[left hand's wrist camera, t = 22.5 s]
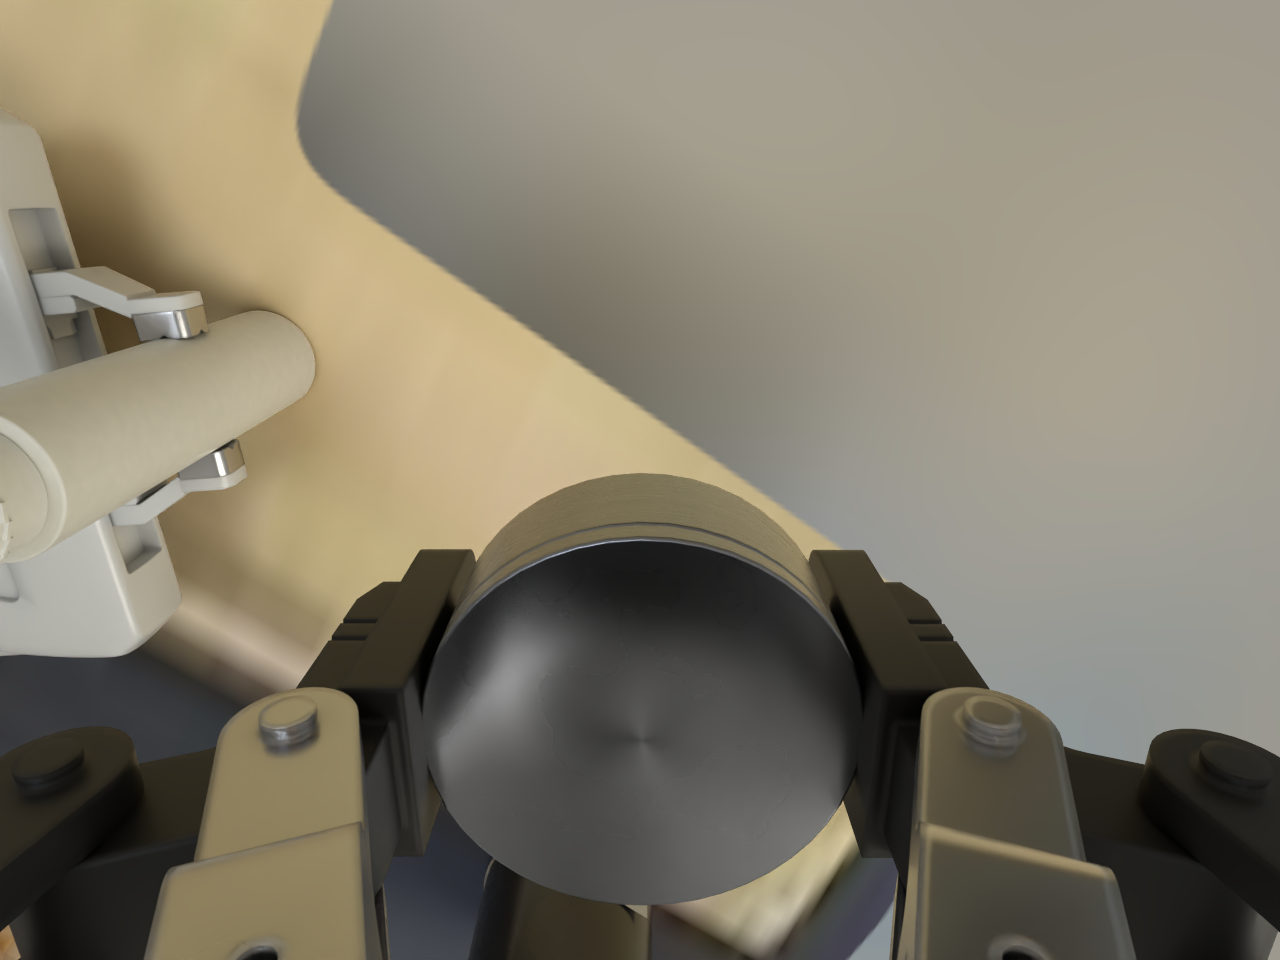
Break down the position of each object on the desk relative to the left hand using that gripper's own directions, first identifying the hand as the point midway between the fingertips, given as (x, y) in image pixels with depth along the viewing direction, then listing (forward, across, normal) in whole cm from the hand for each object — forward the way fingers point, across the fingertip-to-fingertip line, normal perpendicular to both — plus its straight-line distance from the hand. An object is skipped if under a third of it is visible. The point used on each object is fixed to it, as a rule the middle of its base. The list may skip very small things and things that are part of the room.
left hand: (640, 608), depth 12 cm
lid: (-3, 0, 0) cm, 3 cm away
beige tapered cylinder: (+24, +16, +1) cm, 29 cm away
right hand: (+18, +16, +1) cm, 24 cm away
